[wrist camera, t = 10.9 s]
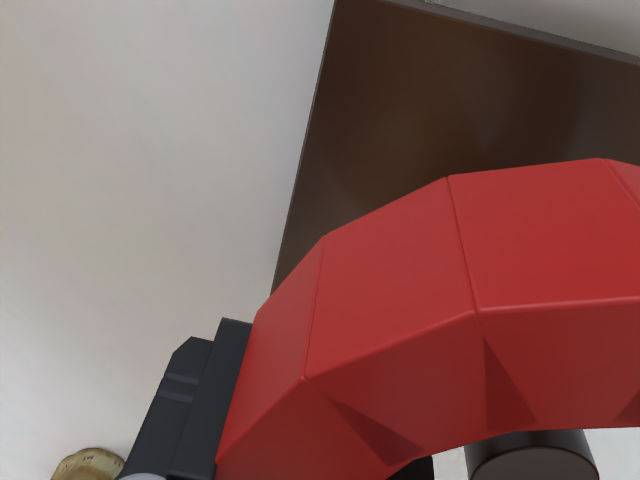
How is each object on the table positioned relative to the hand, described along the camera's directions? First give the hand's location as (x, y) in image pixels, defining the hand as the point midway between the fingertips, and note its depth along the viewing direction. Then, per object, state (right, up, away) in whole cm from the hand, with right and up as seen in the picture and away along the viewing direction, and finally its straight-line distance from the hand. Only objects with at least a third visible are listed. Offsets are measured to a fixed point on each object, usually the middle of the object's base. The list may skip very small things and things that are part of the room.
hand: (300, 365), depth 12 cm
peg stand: (+6, +4, +8) cm, 11 cm away
